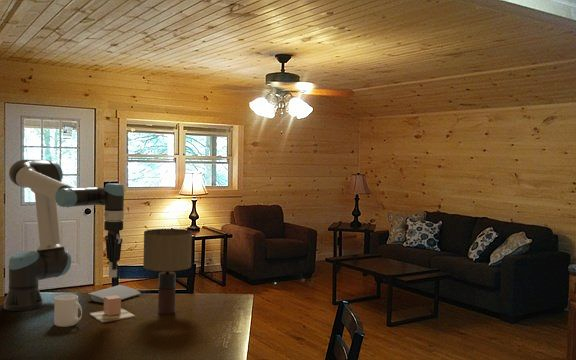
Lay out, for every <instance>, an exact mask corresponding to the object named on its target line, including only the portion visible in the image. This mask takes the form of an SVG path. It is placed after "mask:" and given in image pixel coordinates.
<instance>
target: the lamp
mask: <svg viewBox="0 0 576 360" xmlns="http://www.w3.org/2000/svg"><path fill="white" fill-rule="evenodd" d="M192 239H193V231H192V230H188V229H183V228H181V229H180V228H155V229H147V230H144V232H143V259H142V260H143V267H142V268H143V269H144V270H147V271H152V272H153V271H154V272H159V273H158V304H157V305H158V307H157V310H158V311H157V312H158V314H159V315H160V314H161V315H172V314H175V311H176V279H177V278H176V276H177V275H176V272H179V271H185V270H189V269H190V268H192V251H193V250H192V249H193V247H192V244H193V240H192Z"/></svg>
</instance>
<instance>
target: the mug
mask: <svg viewBox="0 0 576 360" xmlns="http://www.w3.org/2000/svg"><path fill="white" fill-rule="evenodd" d="M79 310H80V316H79ZM53 313H54V318H53V319H54V325H55V326H56V327H60V328H61V327H62V328H63V327H64V328H66V327H67V328H68V327H72V326H75V325H77V324H78V322H79V321H81V319H82V317H83V308H82V306H81V304H80V303H79V296H78V295H77V294H72V293H71V294H60V295H57V296H54V311H53Z"/></svg>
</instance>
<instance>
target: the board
mask: <svg viewBox="0 0 576 360" xmlns="http://www.w3.org/2000/svg"><path fill="white" fill-rule="evenodd" d="M89 316H91V317H92V318H95V320H97V321H98V322H100V323H102V324H103V323H107V322H108V323H109V322H114V321H119V320H120V321H121V320H127V319H132V318H136V315H135V314H133V313H131V312H130V311H128V310H126V309H124V308H122V307H121V314H117V315H111V316H108V315H106V314H105V313H104V310H101V311H95V312H93V311H92V312H89Z"/></svg>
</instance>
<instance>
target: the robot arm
mask: <svg viewBox="0 0 576 360" xmlns="http://www.w3.org/2000/svg"><path fill="white" fill-rule="evenodd" d="M8 173H9V174H8V176H9V179H10V180H11V182H12V183H13V184H15V185H16V186H18V187H20V188H24V189H25V188H26V189H27V188H28V189H30V191H31V192H32V193H34V199H35V209H36V218H37V228H38V240H39V246H38V248H36V251H35V250H29V251H21V252H18V253H15V254H13V255H11V256H10V257H9V260H8V292H7V294H6V296H5V299H4V302H3V309H4V310H5V311H9V312H25V311H31V310H32V311H33V310H36V309H39V308H41V307H43V297H42V294H41V291H40V289H39V281H42V280H47V279H53V278H59V277H62V276H64V275H66V274H67V273H68V272H69V270H70V269H71V265H72V256H71V253H70V252H69V251H68V250H66V249H65V245H63V244H62V243H61V236H60V226H59V217H58V207H60V208H61V207H62V208H71V207H84V206H86V207H87V206H104V213H103V216H104V223H103V225H104V227H103V229H104V231H107V234H106V235H104V239H105V240H104V241H105V249H106V250H105V251H106V252H105V253H106V259H108V278H110V279H112V278H118V262H119V261H120V260H121V252H122V244H123V238H121V235H120V234H121V233H120V231H123V230H124V221H123V220H124V215H125V214H124V213H125V212H124V211H125V210H124V205H125V204H124V200H125V199H124V198H125V189H124V188H125V187H124V185H123V184H122V183H111V182H110V183H106V184H105V185H104V187H101V186H89V187H73V186H71V185H69V184H67V183H64V182H63V180H62V179H63V176H64V174H63V170H62V167H61V165H60V164H59V163H58V162H56V161H55V160H52V159H51V160H49V159H21V160H17V161H15V162H14V163H13V164H12V165H11V167H10V168H9V171H8ZM57 206H58V207H57Z"/></svg>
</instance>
